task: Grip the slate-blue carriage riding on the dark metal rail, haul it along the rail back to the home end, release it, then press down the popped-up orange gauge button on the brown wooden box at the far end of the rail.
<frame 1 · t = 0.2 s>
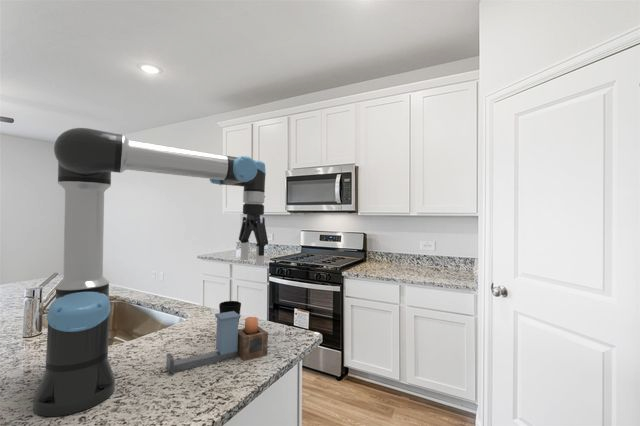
hand: (251, 262, 113), 27 cm above the counter, fingers open, 13 cm apart
rail: (208, 361, 93), on the counter
carriage: (227, 332, 97), point 8 cm above the counter, slide at 5.5 cm
cup: (229, 337, 113), on the counter
gauge button: (251, 325, 100), point 9 cm above the counter, slide at 0.0 cm
brown wooden box: (250, 353, 100), on the counter
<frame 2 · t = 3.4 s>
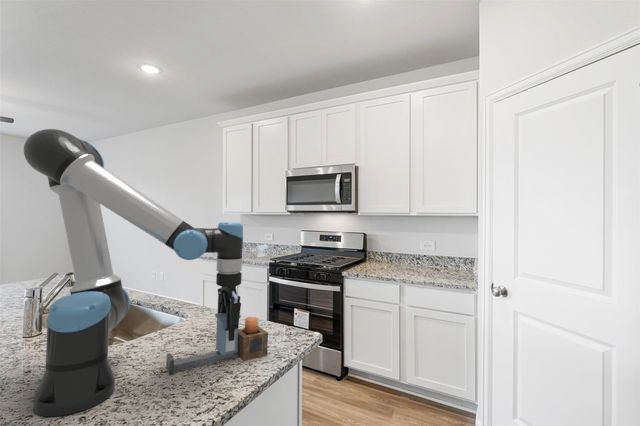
hand: (226, 347, 97), 3 cm above the counter, fingers closed on carriage, 5 cm apart
carriage: (227, 332, 97), point 8 cm above the counter, slide at 5.5 cm, touching gripper
everything else where it was.
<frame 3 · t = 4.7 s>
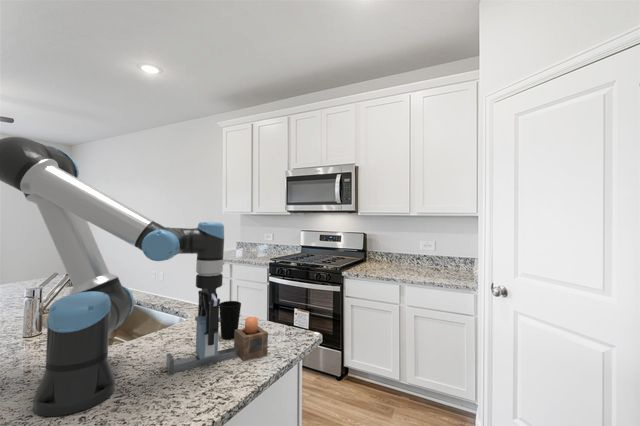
hand: (206, 351, 93), 3 cm above the counter, fingers closed on carriage, 5 cm apart
carriage: (207, 336, 93), point 8 cm above the counter, slide at -0.6 cm, touching gripper
everything else where it was.
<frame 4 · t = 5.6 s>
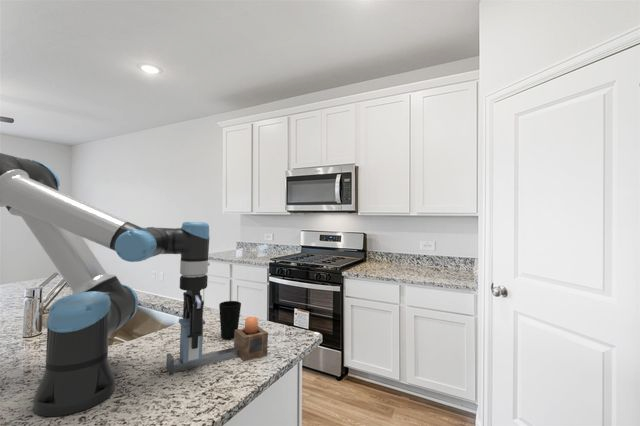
hand: (190, 355, 90), 3 cm above the counter, fingers closed on carriage, 5 cm apart
carriage: (191, 339, 91), point 8 cm above the counter, slide at -5.0 cm, touching gripper
everything else where it was.
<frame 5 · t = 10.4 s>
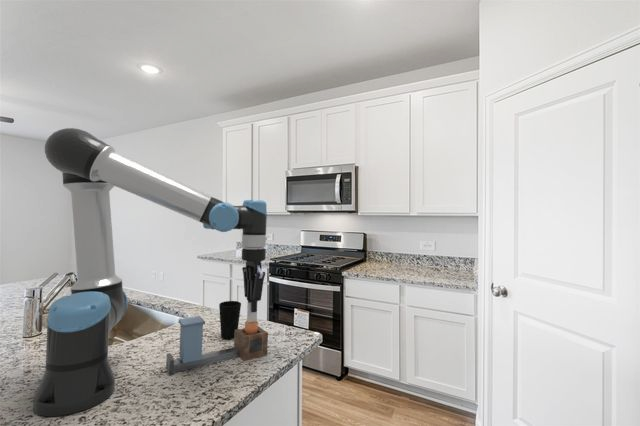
hand: (251, 321, 100), 10 cm above the counter, fingers closed
carriage: (191, 339, 91), point 8 cm above the counter, slide at -5.1 cm
gauge button: (251, 328, 100), point 8 cm above the counter, slide at 1.0 cm, touching gripper
everything else where it was.
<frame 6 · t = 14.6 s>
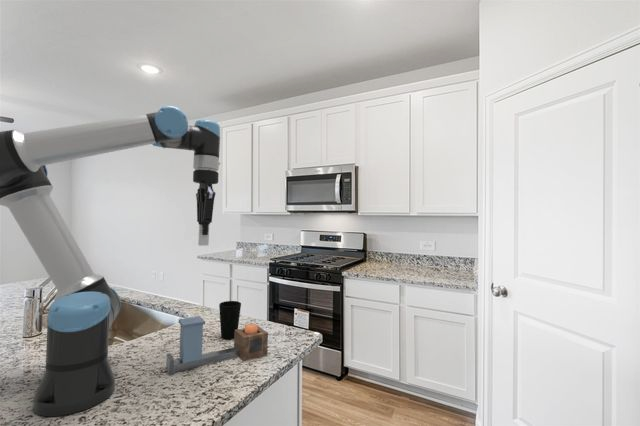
hand: (203, 245, 98), 34 cm above the counter, fingers closed
gauge button: (251, 332, 100), point 7 cm above the counter, slide at 2.3 cm
everything else where it was.
at the end: carriage slide at -5.1 cm; gauge button slide at 2.3 cm; the gripper is holding nothing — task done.
